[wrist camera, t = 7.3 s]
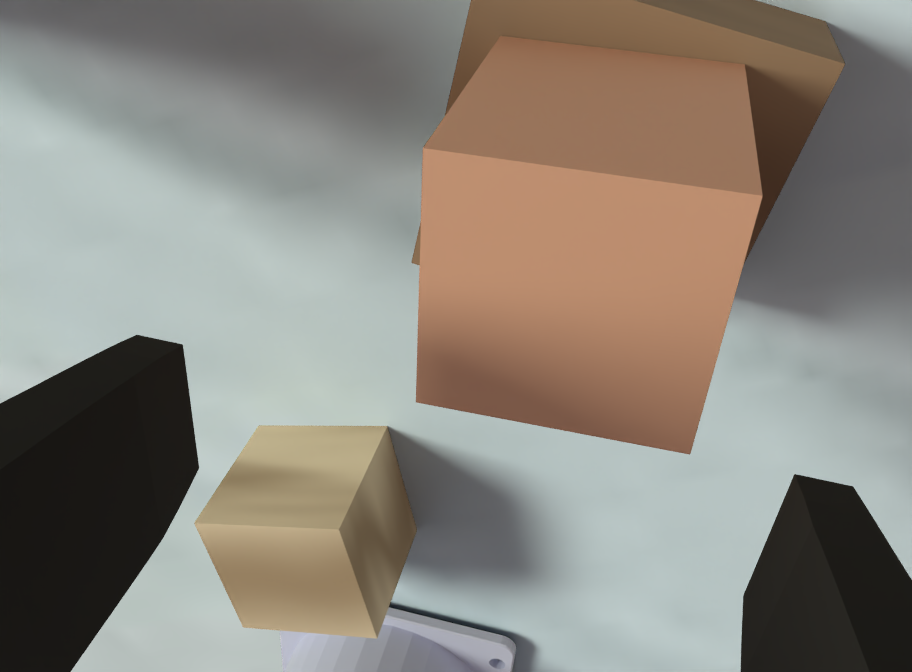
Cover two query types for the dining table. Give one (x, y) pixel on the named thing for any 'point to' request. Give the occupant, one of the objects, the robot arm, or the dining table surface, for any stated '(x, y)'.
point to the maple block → (311, 529)
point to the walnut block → (692, 36)
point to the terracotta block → (585, 239)
